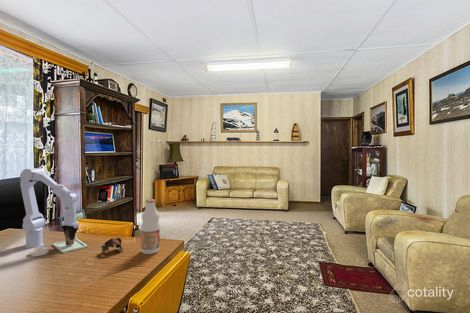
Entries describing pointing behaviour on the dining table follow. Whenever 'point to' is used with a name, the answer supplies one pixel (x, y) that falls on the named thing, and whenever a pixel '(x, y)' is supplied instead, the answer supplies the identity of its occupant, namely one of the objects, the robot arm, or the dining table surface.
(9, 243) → the dining table surface
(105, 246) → the brown arched lump
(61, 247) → the sage tray
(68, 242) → the dowel pin
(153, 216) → the fruit juice
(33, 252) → the white octagonal dish
